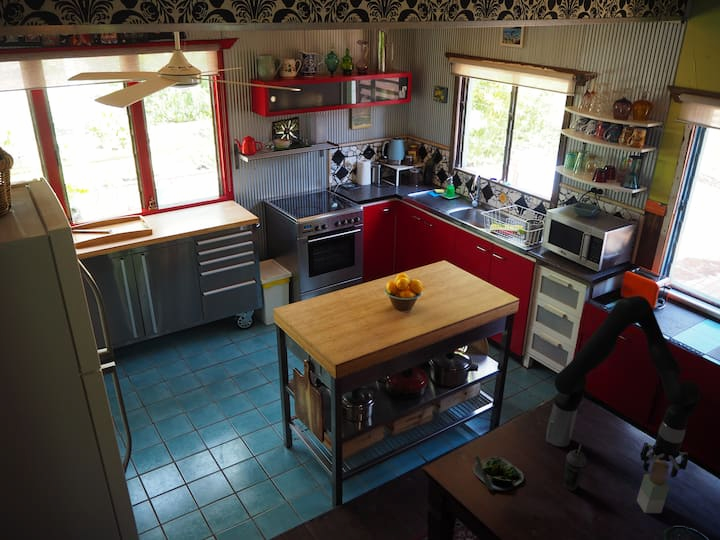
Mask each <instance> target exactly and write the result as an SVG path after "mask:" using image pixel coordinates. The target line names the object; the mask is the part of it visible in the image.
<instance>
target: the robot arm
mask: <svg viewBox="0 0 720 540" xmlns="http://www.w3.org/2000/svg"><path fill="white" fill-rule="evenodd" d="M635 324H638V325H639V327H640V328H641V330H642V332H643V334H644V336H645V339H646V344H647V350H648V356H649V360H650V361H651V363H652V364H653V367H654V368H655V369H656V372H657V373H658V374H659V376H660V380H661V384H662V388H663V390H664V394H665V397H666V398H667V399H668V401H669V402H670V404H671V405H669V406H668V407H667V408H666V409H665V412H664V415H663V419H662V422H661V424H660V426H659V427H658V433H657V435H656V440H655V443H654V444H653V445H651V444H649V443H648V442H644V443H643V446H642V449H641V451H640V455H639V457H640V460H641V461H643V464H642V466H643V467H642V468H643V470H644V472H646V473H647V472H648V471H649V468H650V465H651V463H653V462H654V461H656V460H663V461H665V462H666V463H669V462H671V464H672V469H671V471H670V476H671V478H673V479H675V477H677V475H678V472H679V470H683V471H685V470H686V469H687V466H688V461H689V454H688V452H687V451H686V450H684V451H680V450H681V447H682V444H683V441H684V438H685V434H686V429H687V426H688V422H689V420H690V419H689V418H690V417H691V415H692V413H693V412H694V411H695V409H696V408H697V405H698V403H699V401H700V398H701V389H700V388H699V387H700V386H698V384H696V383H695V382H693V381H690V380H689V381H688V380H687V381H683V382H682V381H681V380H680V377H679V376H680V375H681V374H682V373H683V369H682V367H681V365H680V363H679V362H678V360H677V358H676V357H675V355H674V353H673V352H672V350H671V349H670V347H669V344H668V342H667V341H666V339H665V336H664V334H663V332H662V329H661V327H660V325H659V322H658V320H657V317H656V314H655V312H654V309H653V308H652V306H651V303H650V302H649V300H648V299H647V298H646V297H643V296H641V295H634V296H628V297H625V298H621V299H619V300H618V301H617V302H616V304H614V306H613V308H612V309H611V310H610V312H609V314H608V316H606V318H605V320H604V322H602V323H601V325H600V326H599V327H598V328H597V329H596V330H595V332H593V334H592V335H591V336H590V337H589V338H588V340H586V342H585V343H584V344H583V346H582V347H581V348H580V349H579V351H578V352H577V353H576V354H575V356H574V357H573V359H571V361H570V362H569V363H568V364H567V365H566V366H565V367H564V368H562V369H561V370H560V371H559V372H558V373H557V375H556V376H555V379H554V386H555V389H556V390H557V392H558V393H557V394H555V397H554V400H553V404H552V409H551V414H550V415H549V420H548V425H547V428H546V429H547V430H546V438H545V439H546V443H549V444H551V445H552V446H556V447H558V448H560V447H561V448H565V447H567V446H569V445H570V442H571V437H572V435H573V429H574V426H575V420H576V418H577V412H578V408H579V405H580V404H581V402H582V400H583V397H584V393H585V392H586V387H587V375H588V374H590V373H591V372H592V371H593V370H595V369H597V367H599V366H601V365H602V364H603V363H604V362H605V361H606V360H607V359H608V358H609V357H610V356H611V355H612V354H613V353H614V351H615V349H616V347H617V344H618V340H619V337H620V336H621V334H622V333H624V331H626V329H627V328H629V327H630V326H632V325H635ZM648 453H649V454H648ZM679 456H680V458H681V461H680V463H678V460H677V458H678V457H679Z"/></svg>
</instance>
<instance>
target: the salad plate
mask: <svg viewBox="0 0 720 540" xmlns="http://www.w3.org/2000/svg"><path fill="white" fill-rule="evenodd" d="M474 461H475V464H474V465H473V473H474V475H475V476H476V477H477V478H478V479H479V480H480V481H482V482H483V483H484V485H486V487H487V488H488V490H490V491H494V492H500V493H507V492H509V490H510V491H512V490H514V489H516V488H517V487H519V486H521V485H522V484H523V483H524V482H525V476H524V473H523V472H522V470H520V469H518V467H516V466H515V465H513V464H512V463H511V462H510V461H508V460H507V459H505V458H504V457H500V456H497V455H495V456H490V457H487V458H484V460H481V459H480V458H479V456H477V455H475V456H474ZM487 474H488V475H490V477H487V476H486V475H487ZM513 480H516V481H515V483H514V482H513ZM506 491H507V492H506Z"/></svg>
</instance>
